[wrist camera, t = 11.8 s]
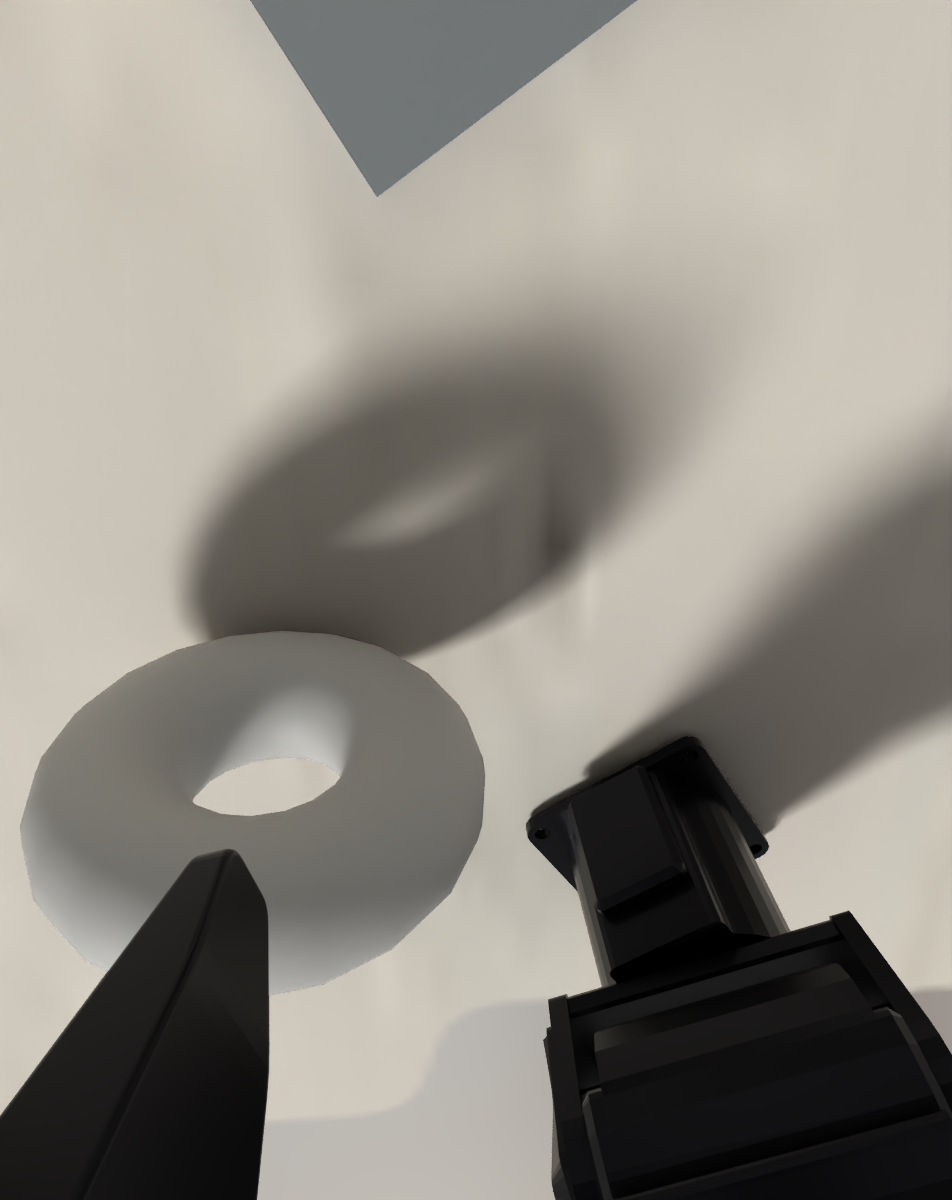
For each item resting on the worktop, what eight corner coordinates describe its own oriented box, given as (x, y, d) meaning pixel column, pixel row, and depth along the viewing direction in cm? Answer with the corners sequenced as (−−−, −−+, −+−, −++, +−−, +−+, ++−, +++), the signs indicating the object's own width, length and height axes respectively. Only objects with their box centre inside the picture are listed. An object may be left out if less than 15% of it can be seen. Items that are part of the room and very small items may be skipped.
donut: (468, 600, 22) (523, 907, 14) (462, 698, 24) (509, 1023, 16) (89, 605, 21) (-104, 943, 13) (113, 707, 23) (-41, 1063, 14)
